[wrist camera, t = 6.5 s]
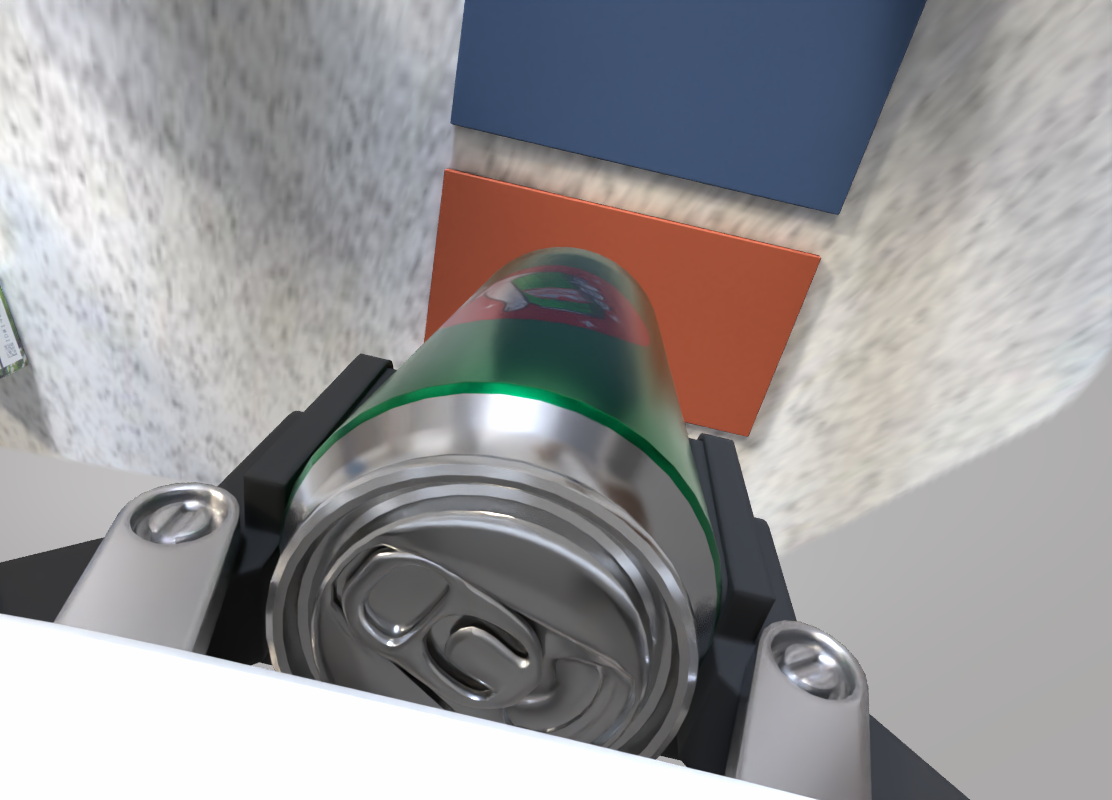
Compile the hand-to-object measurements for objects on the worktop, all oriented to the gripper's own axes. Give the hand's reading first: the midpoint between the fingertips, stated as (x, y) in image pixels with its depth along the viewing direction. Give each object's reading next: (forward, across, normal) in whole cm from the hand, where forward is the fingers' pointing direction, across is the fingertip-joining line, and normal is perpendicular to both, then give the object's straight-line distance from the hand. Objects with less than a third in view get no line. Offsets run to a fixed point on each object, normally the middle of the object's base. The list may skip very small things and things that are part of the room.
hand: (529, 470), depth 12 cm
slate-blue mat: (+22, -2, -8) cm, 23 cm away
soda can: (+7, 0, 0) cm, 7 cm away
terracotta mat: (+22, -2, +4) cm, 22 cm away
